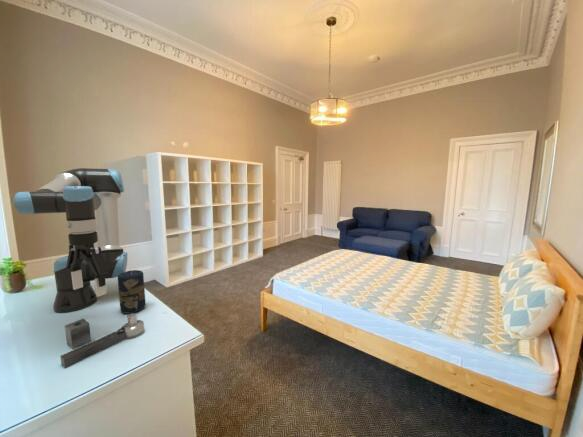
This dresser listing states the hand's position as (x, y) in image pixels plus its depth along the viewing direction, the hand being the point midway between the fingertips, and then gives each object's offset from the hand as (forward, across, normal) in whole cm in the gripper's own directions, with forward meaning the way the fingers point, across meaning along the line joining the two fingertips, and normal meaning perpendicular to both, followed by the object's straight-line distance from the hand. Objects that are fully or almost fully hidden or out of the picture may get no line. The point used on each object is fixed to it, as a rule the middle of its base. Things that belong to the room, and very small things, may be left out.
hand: (89, 291), depth 86 cm
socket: (+18, -2, -4) cm, 19 cm away
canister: (+18, -8, +20) cm, 28 cm away
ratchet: (+18, +8, 0) cm, 20 cm away
